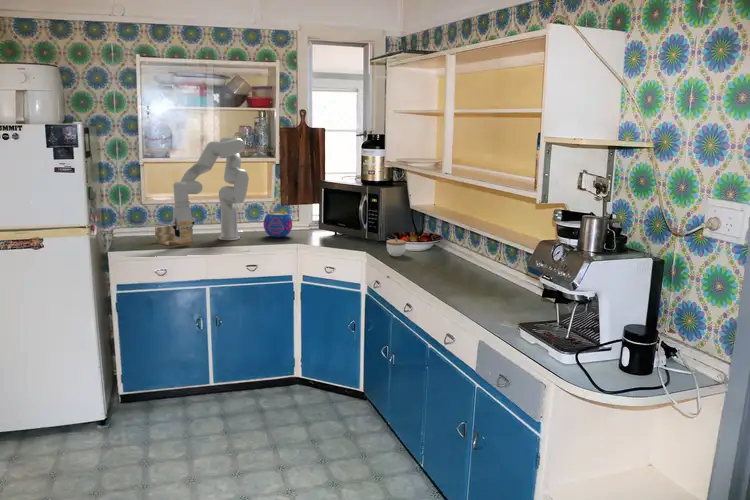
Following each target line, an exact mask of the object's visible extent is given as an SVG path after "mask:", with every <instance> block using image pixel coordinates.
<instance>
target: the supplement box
mask: <svg viewBox="0 0 750 500" xmlns="http://www.w3.org/2000/svg"><path fill="white" fill-rule="evenodd" d="M175 224H177V222H175ZM176 227H177V225H176ZM192 229H193V227H192V222H191V219H190V220H186V221H183V222H181V221H180V225H179V229H178V230H179V233H180V237H177V236H176V243H178V245H182V244H183V245H185V244H188V242H189V243H193V242H194V238H193V234H192Z"/></svg>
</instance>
